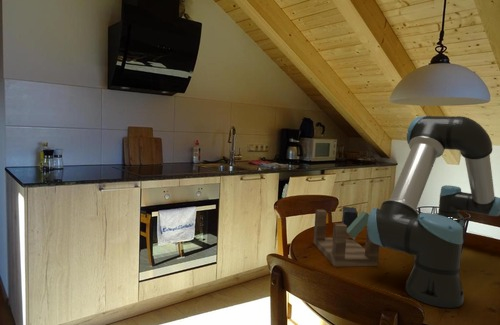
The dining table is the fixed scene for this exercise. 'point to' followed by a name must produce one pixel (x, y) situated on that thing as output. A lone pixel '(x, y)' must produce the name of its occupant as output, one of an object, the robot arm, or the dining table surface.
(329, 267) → the dining table surface
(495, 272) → the dining table surface
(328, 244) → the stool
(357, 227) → the green rectangular block
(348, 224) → the small box
